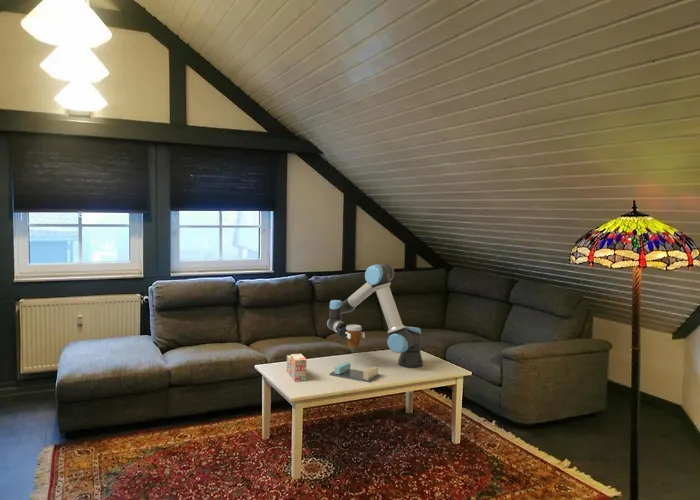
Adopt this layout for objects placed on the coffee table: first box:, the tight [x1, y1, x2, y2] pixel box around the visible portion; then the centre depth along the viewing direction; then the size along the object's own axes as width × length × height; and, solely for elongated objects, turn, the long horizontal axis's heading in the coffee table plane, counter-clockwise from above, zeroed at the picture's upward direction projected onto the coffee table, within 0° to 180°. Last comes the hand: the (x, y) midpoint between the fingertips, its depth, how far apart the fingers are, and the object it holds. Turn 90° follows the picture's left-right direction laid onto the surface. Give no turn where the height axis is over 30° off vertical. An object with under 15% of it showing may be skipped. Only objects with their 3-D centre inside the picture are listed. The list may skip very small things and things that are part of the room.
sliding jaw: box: [334, 361, 351, 374], centre depth 321 cm, size 3×13×4 cm, turn 152°
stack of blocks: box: [286, 353, 307, 383], centre depth 314 cm, size 21×6×12 cm, turn 19°
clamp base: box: [329, 366, 381, 383], centre depth 317 cm, size 25×14×5 cm, turn 62°
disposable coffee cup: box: [346, 324, 363, 348], centre depth 331 cm, size 10×10×12 cm
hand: (357, 336), depth 327 cm, fingers closed on disposable coffee cup, 8 cm apart
